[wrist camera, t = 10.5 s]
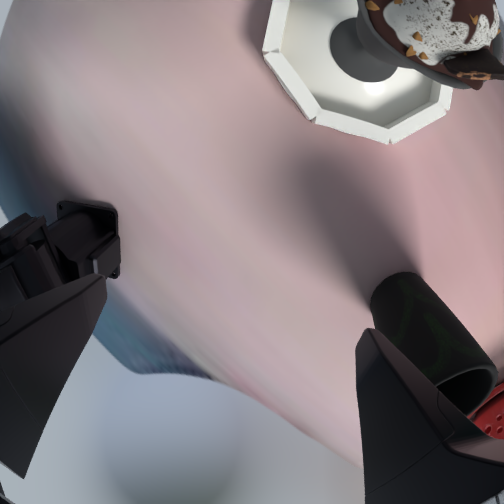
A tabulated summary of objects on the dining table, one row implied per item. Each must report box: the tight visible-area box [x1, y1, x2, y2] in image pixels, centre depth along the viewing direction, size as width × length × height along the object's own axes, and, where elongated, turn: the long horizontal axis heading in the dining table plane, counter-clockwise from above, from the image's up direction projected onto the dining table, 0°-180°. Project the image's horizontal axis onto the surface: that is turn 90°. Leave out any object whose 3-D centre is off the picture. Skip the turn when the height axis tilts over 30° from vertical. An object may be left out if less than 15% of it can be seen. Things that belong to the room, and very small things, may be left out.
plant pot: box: [467, 383, 504, 440], centre depth 27 cm, size 13×13×12 cm
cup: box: [370, 272, 498, 417], centre depth 18 cm, size 8×8×12 cm
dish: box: [262, 0, 453, 145], centre depth 14 cm, size 13×13×2 cm
